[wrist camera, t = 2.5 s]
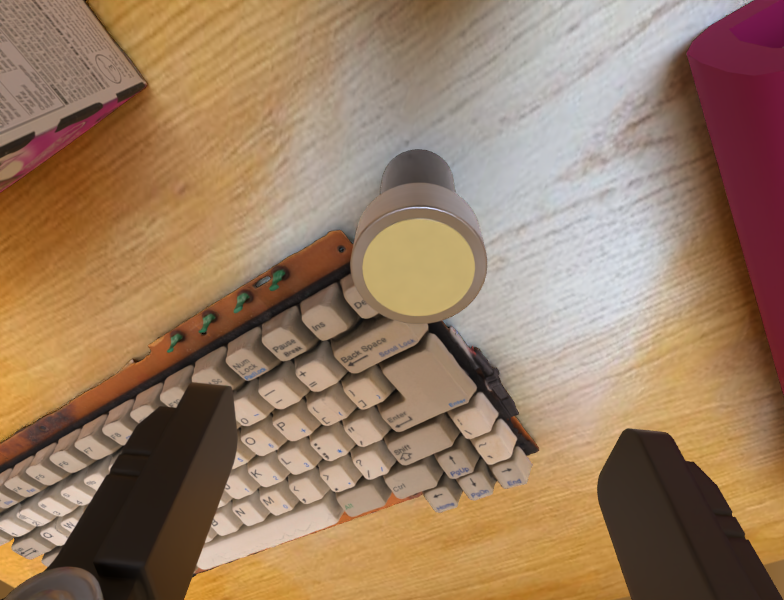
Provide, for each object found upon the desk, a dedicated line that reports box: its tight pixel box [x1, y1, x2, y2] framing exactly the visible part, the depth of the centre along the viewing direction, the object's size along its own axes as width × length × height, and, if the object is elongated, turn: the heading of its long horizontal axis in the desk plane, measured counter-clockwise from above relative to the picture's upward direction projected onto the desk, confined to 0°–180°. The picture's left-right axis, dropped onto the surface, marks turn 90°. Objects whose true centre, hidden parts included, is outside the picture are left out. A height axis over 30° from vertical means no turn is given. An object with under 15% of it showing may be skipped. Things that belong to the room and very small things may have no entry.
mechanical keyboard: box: [0, 230, 539, 577], centre depth 32 cm, size 38×19×3 cm, turn 125°
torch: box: [350, 149, 487, 324], centre depth 19 cm, size 4×4×8 cm
